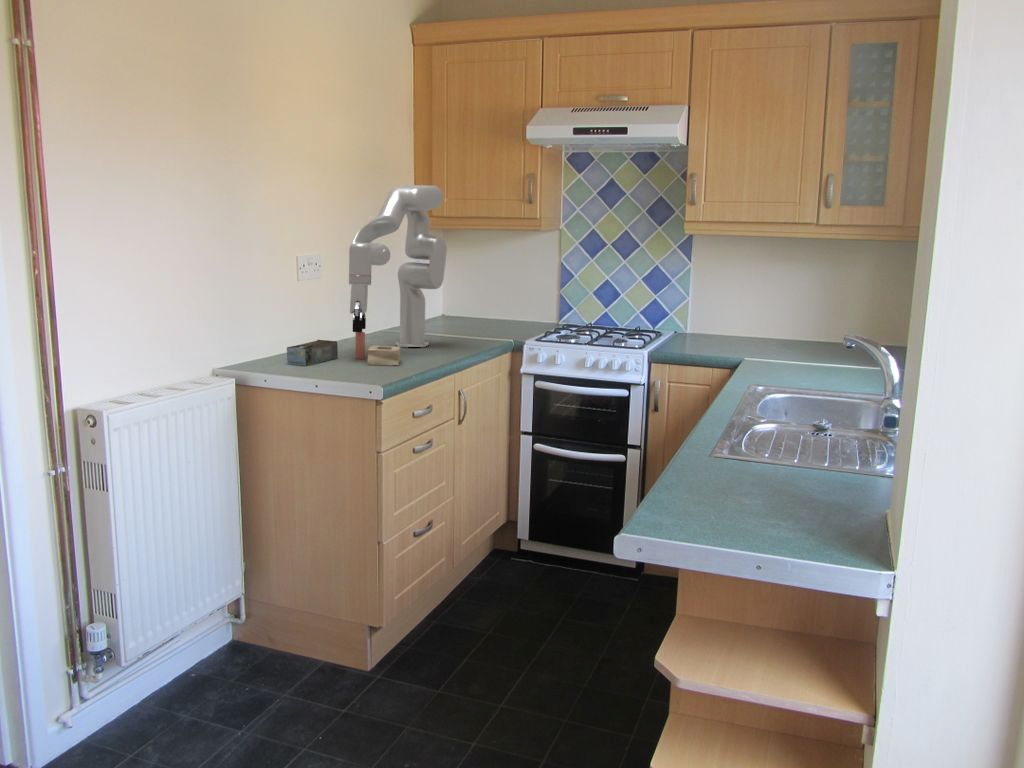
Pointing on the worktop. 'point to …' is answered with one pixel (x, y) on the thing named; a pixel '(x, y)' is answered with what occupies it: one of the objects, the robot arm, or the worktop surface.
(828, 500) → the worktop surface
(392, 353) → the socket block
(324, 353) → the weathered blue-grey brick
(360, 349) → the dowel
